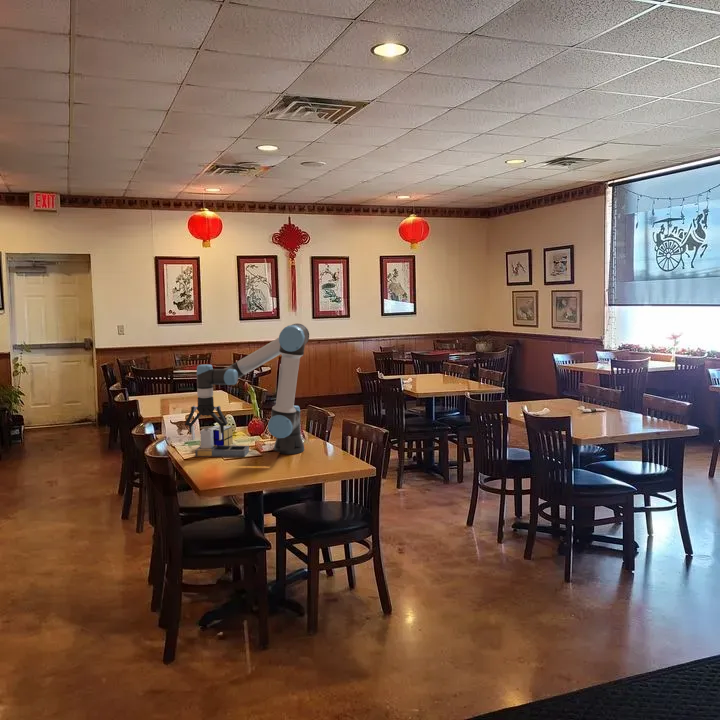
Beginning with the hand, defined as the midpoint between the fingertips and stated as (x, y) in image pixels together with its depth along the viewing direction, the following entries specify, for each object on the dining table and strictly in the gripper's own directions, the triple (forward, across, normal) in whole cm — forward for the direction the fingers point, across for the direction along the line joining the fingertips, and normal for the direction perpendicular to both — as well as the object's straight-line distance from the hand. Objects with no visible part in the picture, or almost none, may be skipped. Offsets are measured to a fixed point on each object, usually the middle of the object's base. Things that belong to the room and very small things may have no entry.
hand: (206, 439), depth 351 cm
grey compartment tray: (+8, -8, 0) cm, 11 cm away
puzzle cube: (+8, -2, -18) cm, 20 cm away
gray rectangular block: (+7, 0, 0) cm, 7 cm away
